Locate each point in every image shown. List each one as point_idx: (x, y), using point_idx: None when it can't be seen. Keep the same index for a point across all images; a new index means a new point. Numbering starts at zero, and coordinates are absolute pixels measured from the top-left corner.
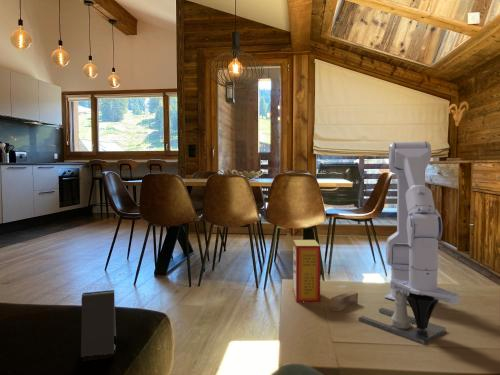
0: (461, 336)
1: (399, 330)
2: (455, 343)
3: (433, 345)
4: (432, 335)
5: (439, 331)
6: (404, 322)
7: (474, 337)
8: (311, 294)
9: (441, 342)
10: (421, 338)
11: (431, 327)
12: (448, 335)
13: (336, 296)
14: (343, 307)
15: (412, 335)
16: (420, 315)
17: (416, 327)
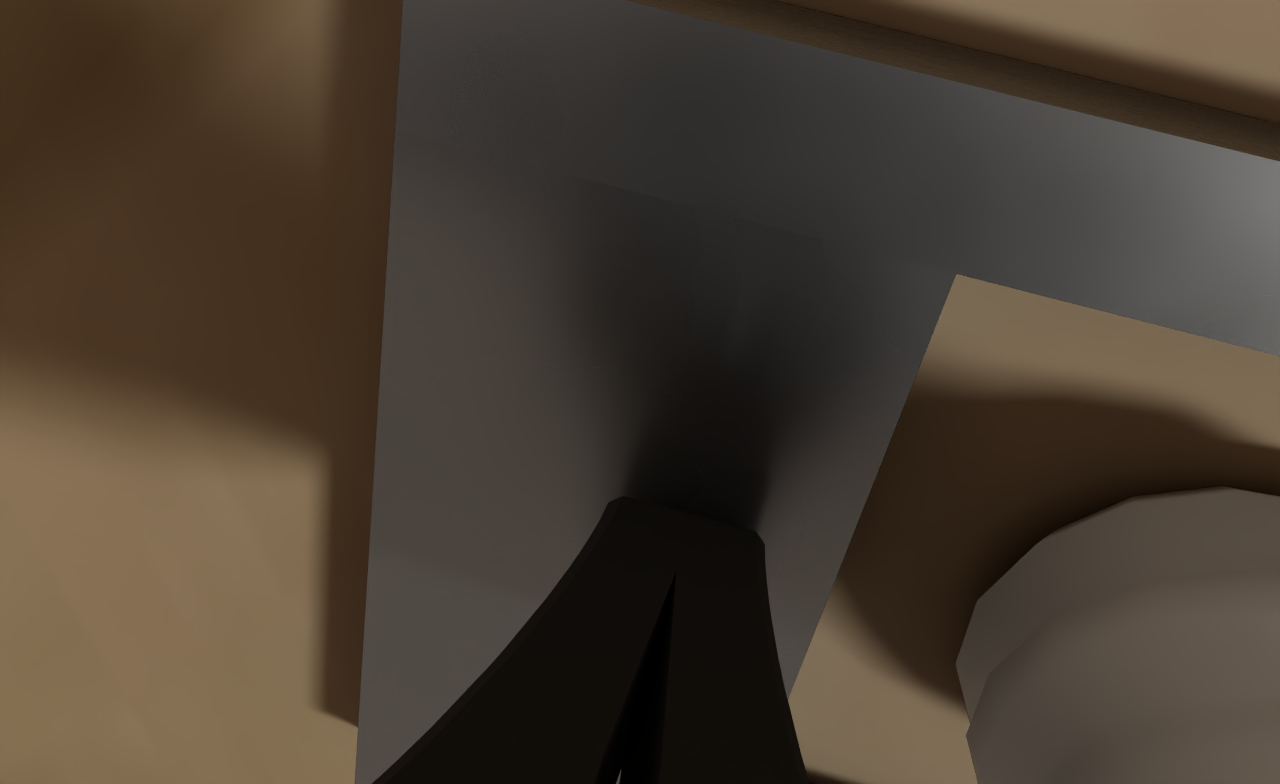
0: (132, 666)
1: (1195, 232)
2: (46, 372)
3: (269, 12)
4: (387, 375)
5: (365, 615)
6: (1107, 629)
7: (3, 707)
8: None
9: (228, 275)
10: (514, 45)
11: None
12: (283, 619)
13: None
14: None
15: (775, 92)
16: (568, 769)
17: (811, 602)
